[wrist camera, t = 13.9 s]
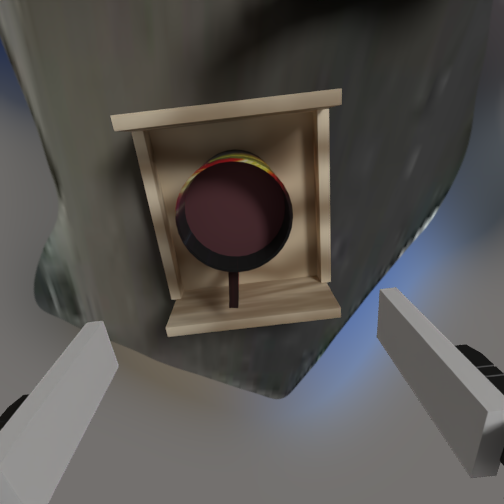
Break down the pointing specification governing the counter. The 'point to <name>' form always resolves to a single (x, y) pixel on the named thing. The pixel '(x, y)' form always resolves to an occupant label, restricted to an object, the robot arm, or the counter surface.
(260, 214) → the mug
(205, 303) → the open wooden box
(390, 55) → the counter surface
